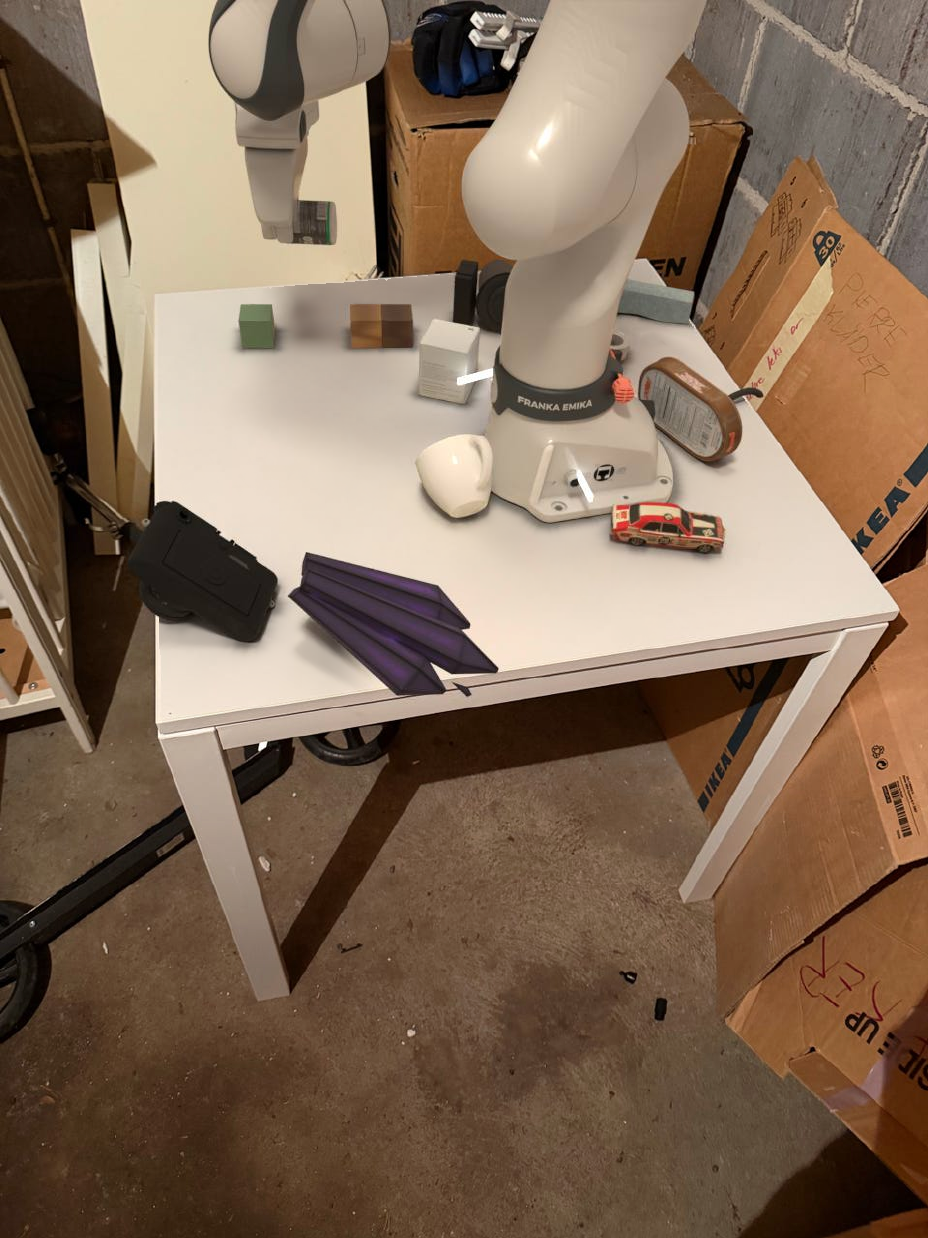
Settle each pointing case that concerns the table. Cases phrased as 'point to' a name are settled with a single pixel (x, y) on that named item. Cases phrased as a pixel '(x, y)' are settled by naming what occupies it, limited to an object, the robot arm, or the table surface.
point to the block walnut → (397, 326)
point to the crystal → (390, 624)
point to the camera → (200, 573)
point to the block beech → (366, 325)
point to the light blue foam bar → (656, 302)
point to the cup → (457, 473)
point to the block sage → (257, 325)
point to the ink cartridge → (465, 292)
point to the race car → (666, 526)
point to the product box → (448, 360)
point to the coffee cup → (492, 293)
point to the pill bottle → (310, 223)
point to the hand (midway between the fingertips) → (289, 228)
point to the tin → (691, 409)
